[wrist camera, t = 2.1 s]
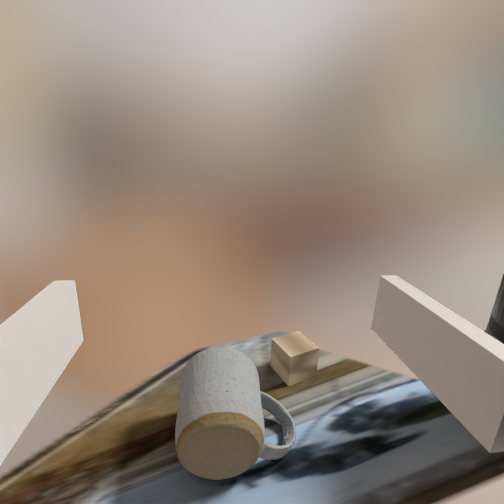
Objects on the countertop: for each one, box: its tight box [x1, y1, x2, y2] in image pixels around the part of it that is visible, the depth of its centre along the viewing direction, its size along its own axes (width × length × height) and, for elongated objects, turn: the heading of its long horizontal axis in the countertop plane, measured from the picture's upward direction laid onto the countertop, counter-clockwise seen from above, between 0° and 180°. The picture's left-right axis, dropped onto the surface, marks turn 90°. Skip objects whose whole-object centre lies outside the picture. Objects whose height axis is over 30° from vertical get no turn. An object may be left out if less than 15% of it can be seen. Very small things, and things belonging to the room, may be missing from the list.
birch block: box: [270, 331, 319, 386], centre depth 37 cm, size 4×4×4 cm
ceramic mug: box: [175, 347, 296, 480], centre depth 27 cm, size 11×8×8 cm
